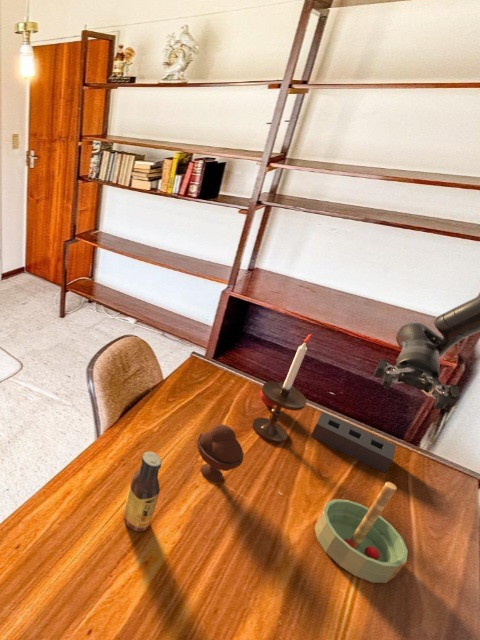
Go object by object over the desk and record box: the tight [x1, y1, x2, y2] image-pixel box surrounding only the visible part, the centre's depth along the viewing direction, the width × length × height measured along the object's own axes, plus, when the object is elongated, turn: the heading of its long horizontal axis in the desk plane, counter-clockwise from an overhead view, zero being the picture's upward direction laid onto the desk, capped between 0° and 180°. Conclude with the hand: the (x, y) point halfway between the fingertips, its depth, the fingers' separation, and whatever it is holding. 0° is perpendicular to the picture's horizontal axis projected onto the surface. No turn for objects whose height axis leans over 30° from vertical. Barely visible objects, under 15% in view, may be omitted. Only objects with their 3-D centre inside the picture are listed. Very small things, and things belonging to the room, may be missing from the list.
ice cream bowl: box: [196, 424, 245, 483], centre depth 102 cm, size 11×11×15 cm
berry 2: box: [365, 547, 380, 560], centre depth 86 cm, size 2×2×2 cm
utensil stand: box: [310, 411, 397, 474], centre depth 114 cm, size 17×7×5 cm, turn 44°
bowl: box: [314, 498, 409, 584], centre depth 87 cm, size 14×14×6 cm
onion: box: [259, 389, 276, 407], centre depth 128 cm, size 6×6×8 cm
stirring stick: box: [350, 481, 398, 550], centre depth 84 cm, size 2×2×20 cm
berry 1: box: [343, 539, 355, 549], centre depth 87 cm, size 2×2×2 cm
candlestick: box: [251, 333, 313, 444], centre depth 111 cm, size 11×11×35 cm
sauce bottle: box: [123, 451, 163, 533], centre depth 88 cm, size 6×6×20 cm
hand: (412, 395), depth 87 cm, fingers open, 8 cm apart
